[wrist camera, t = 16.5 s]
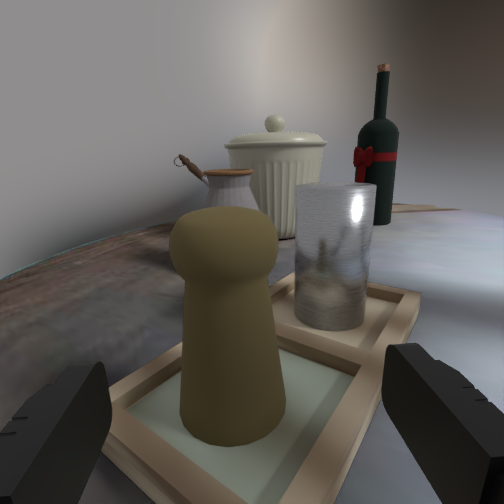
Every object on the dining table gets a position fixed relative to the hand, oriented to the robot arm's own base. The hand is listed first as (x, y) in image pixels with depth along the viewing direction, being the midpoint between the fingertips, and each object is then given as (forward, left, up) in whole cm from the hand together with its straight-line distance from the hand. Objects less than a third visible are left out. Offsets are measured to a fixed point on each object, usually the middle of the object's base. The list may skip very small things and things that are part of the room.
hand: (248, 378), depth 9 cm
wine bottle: (-62, -15, -9) cm, 65 cm away
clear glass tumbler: (-18, -5, -7) cm, 20 cm away
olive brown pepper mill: (-5, -5, -7) cm, 10 cm away
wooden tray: (-12, -5, -9) cm, 15 cm away
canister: (-44, -27, -9) cm, 53 cm away
